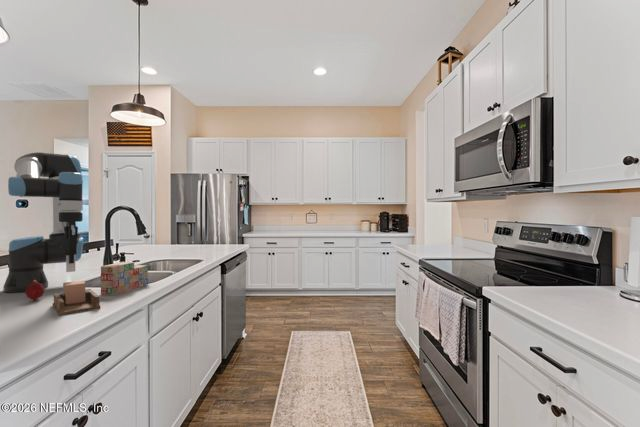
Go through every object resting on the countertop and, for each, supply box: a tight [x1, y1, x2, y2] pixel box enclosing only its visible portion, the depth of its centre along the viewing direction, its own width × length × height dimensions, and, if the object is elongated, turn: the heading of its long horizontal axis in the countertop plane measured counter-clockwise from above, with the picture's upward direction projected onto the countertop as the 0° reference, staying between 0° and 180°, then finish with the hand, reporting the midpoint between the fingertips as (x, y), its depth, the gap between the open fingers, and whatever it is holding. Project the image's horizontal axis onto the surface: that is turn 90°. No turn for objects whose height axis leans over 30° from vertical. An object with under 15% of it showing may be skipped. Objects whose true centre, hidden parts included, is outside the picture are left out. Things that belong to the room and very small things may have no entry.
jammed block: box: [62, 280, 87, 305], centre depth 126 cm, size 6×6×7 cm
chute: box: [52, 288, 101, 317], centre depth 123 cm, size 16×12×4 cm
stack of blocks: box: [100, 261, 149, 295], centre depth 151 cm, size 21×6×12 cm, turn 169°
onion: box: [24, 280, 46, 301], centre depth 131 cm, size 6×6×8 cm
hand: (70, 271), depth 131 cm, fingers closed
